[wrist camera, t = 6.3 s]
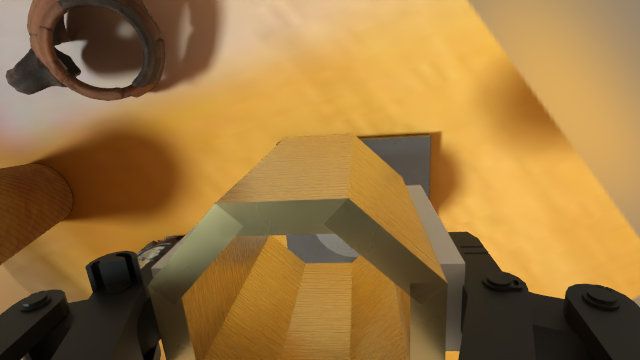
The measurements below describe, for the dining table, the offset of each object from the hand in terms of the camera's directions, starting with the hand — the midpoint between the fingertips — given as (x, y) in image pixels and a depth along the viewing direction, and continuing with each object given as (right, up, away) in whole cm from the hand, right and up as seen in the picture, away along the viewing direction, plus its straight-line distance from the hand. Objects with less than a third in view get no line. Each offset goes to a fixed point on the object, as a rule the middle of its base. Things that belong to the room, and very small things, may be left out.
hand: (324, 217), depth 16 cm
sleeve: (0, 0, 0) cm, 0 cm away
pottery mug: (-18, +13, +14) cm, 27 cm away
